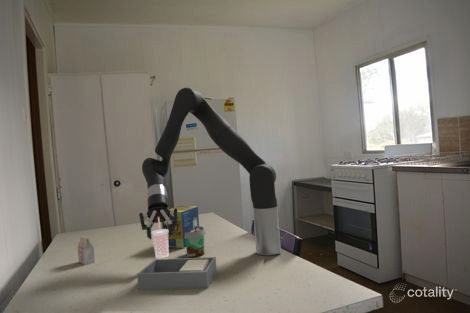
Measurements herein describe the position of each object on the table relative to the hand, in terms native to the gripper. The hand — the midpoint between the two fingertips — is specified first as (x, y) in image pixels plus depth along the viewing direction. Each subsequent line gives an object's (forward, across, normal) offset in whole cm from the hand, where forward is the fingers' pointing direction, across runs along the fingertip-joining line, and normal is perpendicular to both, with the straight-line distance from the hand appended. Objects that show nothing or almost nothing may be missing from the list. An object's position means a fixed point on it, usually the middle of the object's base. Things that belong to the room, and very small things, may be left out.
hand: (160, 236), depth 121 cm
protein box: (-15, +9, +31) cm, 35 cm away
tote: (+20, +5, -4) cm, 20 cm away
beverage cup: (+4, 0, +6) cm, 8 cm away
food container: (0, +14, +16) cm, 21 cm away
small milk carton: (-7, -29, +23) cm, 38 cm away
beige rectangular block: (+20, +10, -5) cm, 23 cm away
